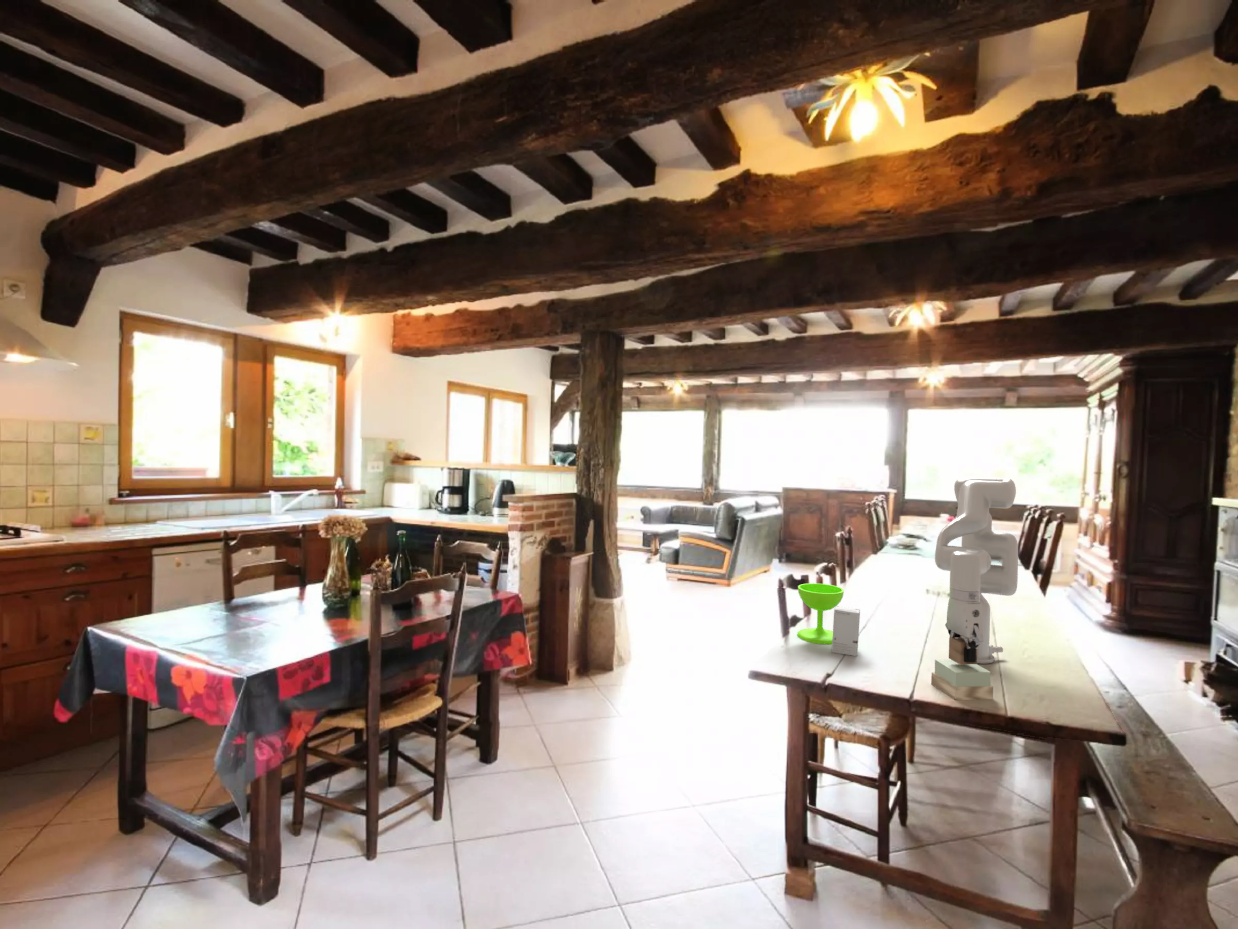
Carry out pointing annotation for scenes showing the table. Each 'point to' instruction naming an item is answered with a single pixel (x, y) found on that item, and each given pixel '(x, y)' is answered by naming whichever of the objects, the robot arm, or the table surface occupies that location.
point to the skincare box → (845, 630)
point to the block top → (962, 674)
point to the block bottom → (961, 690)
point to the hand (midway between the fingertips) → (962, 657)
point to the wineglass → (819, 609)
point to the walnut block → (958, 650)
